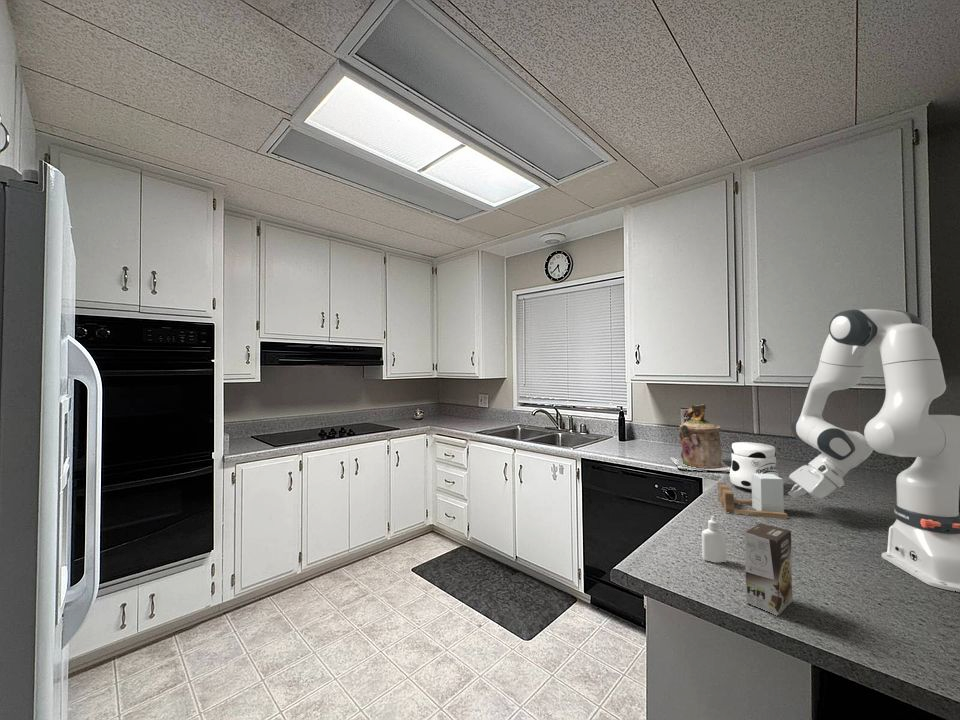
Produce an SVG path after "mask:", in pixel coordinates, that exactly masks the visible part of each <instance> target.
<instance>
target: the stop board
mask: <svg viewBox="0 0 960 720" xmlns="http://www.w3.org/2000/svg"><path fill="white" fill-rule="evenodd" d="M717 485H718V486H717V488H718V489H717V491H718V495H717V496H718V503H719V502H720V503H721V504H720V503H719V504H720V506H721V505H722V506H721V508H722V507H723V508H724V509H723V508H722V509H723V511H724V510H725V511H726V512H727V510H728V509H730V510H734V508H735V504H734V499H735V498H734V497H735V496H734V492H732V490H731V489H730V487H729V486H728V485H727V483H724V482H722V483H721V482H718V483H717ZM725 511H724V512H725ZM728 511H729V510H728ZM729 513H731V512H729ZM729 513H728V514H729Z"/></svg>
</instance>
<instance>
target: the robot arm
mask: <svg viewBox="0 0 960 720" xmlns="http://www.w3.org/2000/svg"><path fill="white" fill-rule="evenodd" d="M828 332H829V334H828V335H827V337H826V340H825V341H824V344H823V347H822V350H821V353H820V357H819V362H818V365H817V369H816V371H815V374H814V375H813V376H812V377H810V379H809V383H808V384H807V387H806V391H805V393H804V397H803V400H802V402H801V404H800V408H799V410H798V413H797V414H796V417H794V419H793V421H792V423H791V427H790V429H791V434H792V435H793V436H794V437H795V438H796V439H797V440H799V441H801V442H803V443H805V444H808V446H811V447H812V448H814V449H816V450H817V451H819V452H820V454H818V455H817V456H816V457H814V458H813V459H812V460H810V461H809V462H808V463H807V464H808V465H807V464H804V465H802V466H800V467H798V468H796V469H795V470H794V471H793V472H791V473H790V474H789V476H788V478H789V480H791V481H792V482H794V485H793V486H792V488H791V489H790V491H788V492H787V494H788V496H790V497H791V498H792V499H793V500H796V499H797V498H799V497H801V496H804V495H806V494H808V495H810V496H811V497H813V498H814V499H815V500H816V501H817V500H822V499H824V498H826V497H827V496H829V495H830V494H832V493H833V492H834V491H835V490H837V488H842V487H843V486H844V485H845V482H844V477H845V476H846V475H847V474H848V472H849V471H850V470H851V469H854V468H857V467H858V466H859V465H861V464H862V463H864V461H866V459H868V458H869V457H870V456H871V454H872V453H873V451H874V452H876V453H879V454H884V455H887V456H895V457H899V458H901V457H902V458H915V460H914V462H913V463H912V464H911V465H910V466H909V467H908V468H906V469H904V470H902V471H901V472H900V473H898V474H897V476H896V478H895V479H896V480H895V481H896V482H895V483H896V503H895V504H894V508H893V512H894V518H895V521H894V522H893V524H892V525H890V526H889V527H888V535H887V536H888V538H887V551H884V552H881V556H880V557H881V558H882V559H883V560H885V561H887V562H889V563H890V564H892V565H894V567H895V566H896V567H897V568H899V569H901V570H903V571H904V572H906V573H908V574H909V575H911V576H913V578H915V579H918V580H919V581H920V582H923V583H925V584H926V585H928V586H931V587H935V588H938V589H942V590H947V591H951V592H955V591H956V593H960V512H959V511H960V510H959V509H960V508H959V507H960V506H959V505H960V415H957V414H956V415H954V414H929V410H930V405H931V404H932V401H934V400H935V399H937V398H939V397H940V396H942V395H943V394H944V393H945V392H946V390H947V384H946V379H945V375H944V369H943V366H942V365H943V364H942V361H941V356H940V353H939V351H938V350H939V349H938V347H937V345H936V342H935V339H934V338H933V336H932V333H931V331H930V330H929V329H928V328H927V327H926V326H925V325H923V324H922V321H921V319H920V318H919V317H918V316H917V315H915V314H914V313H912V312H908V311H905V310H890V309H889V310H887V309H879V308H864V309H847V310H843V311H840V312H838V313H836V314H835V315H833V317H832V318H831V320H830V322H829V325H828ZM873 348H876V349H877V350H878V351H879V353H880V358H881V359H880V360H881V365H882V371H883V377H884V384H885V398H884V401H883V403H882V404H883V405H882V406H881V408H880V410H879V412H878V413H877V414H876V415H874V417H872V418H871V419H870V420H869V421H867V423H866V424H865V426H864V430H863V433H860V432H858V431H857V430H856V431H854V430H853V431H852V430H846V429H843V428H841V427H838V426H835V425H834V424H832V423H829V422H827V421H826V420H824V418H823V412H824V409H825V406H826V403H827V399H828V398H829V396H830V395H831V394H832V393H833V392H835V391H842V390H847V389H850V388H853V387H855V386H856V385H858V384H859V383H860V381H861V379H862V377H863V374H864V369H865V366H866V359H867V354H868V352H869V351H870V350H871V349H873Z"/></svg>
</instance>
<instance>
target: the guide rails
mask: <svg viewBox="0 0 960 720" xmlns="http://www.w3.org/2000/svg"><path fill="white" fill-rule="evenodd" d="M734 503H740V504H739V505H742V504H749V505H748V506H752V499H743V498H734ZM728 510H729V511H728ZM728 510H727V512H731V513H738V514H737V515H739V514H748V515H747V516H750V515H754V516H753V517H760V516H764V518H772V519H780V520H781V519H783V520H788V518H789V517H788V516H789V515H788V514H787V512H784V513H779V512H768V511H757V510H755V509H744V508H735V507H734V510H730V509H728Z"/></svg>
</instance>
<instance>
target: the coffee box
mask: <svg viewBox="0 0 960 720" xmlns="http://www.w3.org/2000/svg"><path fill="white" fill-rule="evenodd" d="M744 540H745V541H744V545H745V546H744V547H745V549H744V550H745V551H744V553H745V554H744V555H745V559H744V560H745V561H744V563H745V565H744V566H745V603H746V602H747V603H750V604H752V605H754V606H756V607H758V608H757V609H759V608H761V609H763V610H765V611H764V612H766V611H768V612H770V613H772V614H771V615H773V614H774V615H773V616H775V615H776V616H775V617H778V616H779V615H780V614H782V612H783V611H785V609H787V606H788V607H789V606H790V605H791V604H792V602H793V566H792V565H793V564H792V563H793V562H792V561H793V560H792V530H789V529H786V528H782V527H779V526H774V525H769V524H765V523H761V522H759V523H758V524H756V525H755V526H753V527H752V528H749V529H748V530H746V531H745V532H744ZM747 603H746V604H747ZM752 605H751V606H752ZM754 606H753V607H754ZM756 607H755V608H756ZM761 609H760V610H761ZM763 610H762V611H763ZM768 612H767V613H768ZM770 613H769V614H770ZM777 615H778V616H777Z"/></svg>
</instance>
